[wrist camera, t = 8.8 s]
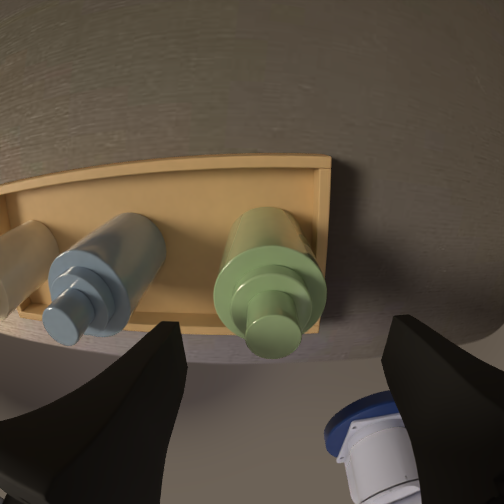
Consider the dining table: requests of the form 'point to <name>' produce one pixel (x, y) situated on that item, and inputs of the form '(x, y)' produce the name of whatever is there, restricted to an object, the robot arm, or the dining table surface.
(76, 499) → the robot arm
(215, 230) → the tray
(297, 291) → the sage bottle
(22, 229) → the cream bottle
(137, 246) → the blue bottle
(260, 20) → the dining table surface
